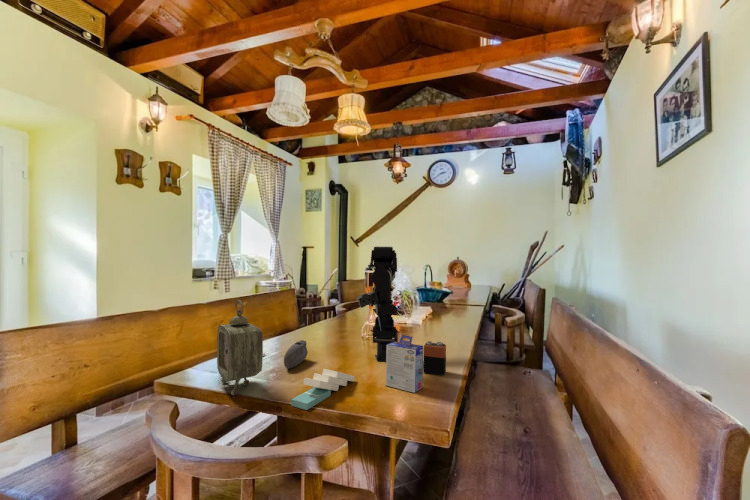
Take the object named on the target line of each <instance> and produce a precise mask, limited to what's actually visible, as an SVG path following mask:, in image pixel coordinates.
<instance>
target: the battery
mask: <svg viewBox="0 0 750 500" xmlns="http://www.w3.org/2000/svg"><path fill="white" fill-rule="evenodd" d="M446 373H447V345H446V343H444V342H443V341H436V342H432V341H431V340H429V341H426V342H425V344H424V345H423V374H429V375H437V376H445V374H446Z"/></svg>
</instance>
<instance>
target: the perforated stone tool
mask: <svg viewBox="0 0 750 500" xmlns="http://www.w3.org/2000/svg"><path fill="white" fill-rule="evenodd" d="M307 356H308V348H307V341H306V340H303V339H302V340H299V341H296V342H295V343H293V344H292V345H291V346H290V347H288V349H287V351H286V352H285V353H284V358H283V366H284V368H286V369H287V370H291V369H293V368H295V367H297V366H299V365H300V364H302V363H303V362H304V361H305V359H306V358H307Z"/></svg>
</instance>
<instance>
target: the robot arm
mask: <svg viewBox="0 0 750 500" xmlns="http://www.w3.org/2000/svg"><path fill="white" fill-rule="evenodd" d="M370 268H374V270H373V272H372V274H371V281H372V283H373V285H374V286H373V287H372V290H371V291H370V292H366V293H364V294H361V295H358V296H356V299H357V302H358V305H359V307H360V308H365V307H366V306H368V305H370V306H369V307H374V308H372V311H373V312H374V313H375V314H376V316H375V320H374V325H373V327H372V343H373V344H374V343H375V344H376V354H374V357H375V360H376V361H377V362H386V350H387V344H389V343H392V342H399V334H398V333H399V332H398V331H399V330H398V329H397V327H396V326H395V320H394V318H393V317H392V316H393V315H398V307H397V306H396V304H394V303H393V301H394V300H392V295H393V294H392V292H394V288H393V287H392V286H393V285H392V283H393V281H394V279H395V278H396V272H398V258H397V252H396V250H394V248H393V246H374V247H373V249H372V250H371V256H370Z"/></svg>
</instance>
